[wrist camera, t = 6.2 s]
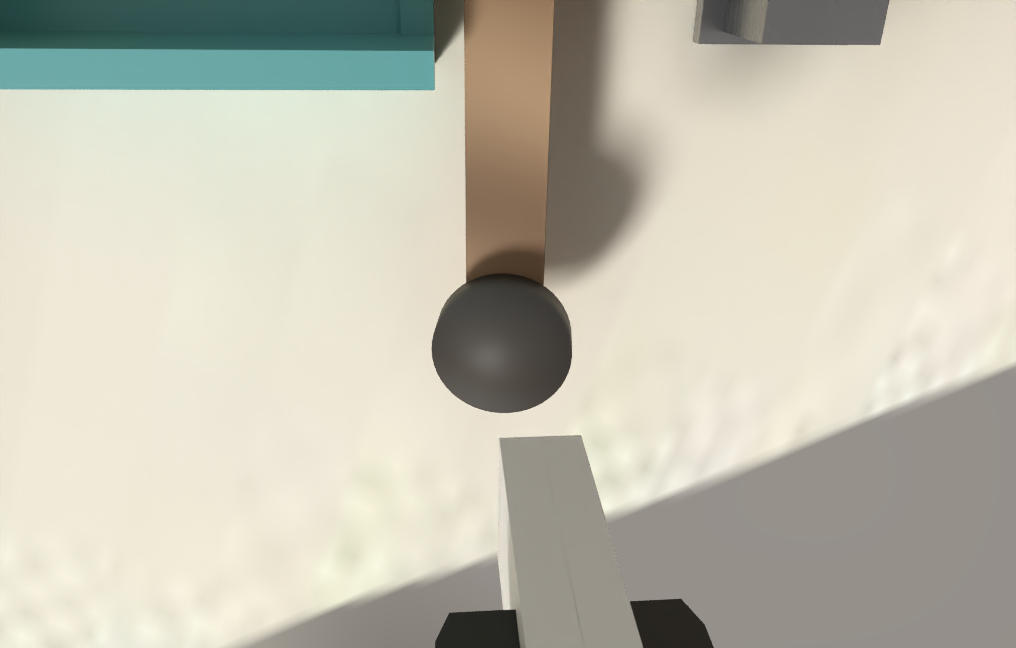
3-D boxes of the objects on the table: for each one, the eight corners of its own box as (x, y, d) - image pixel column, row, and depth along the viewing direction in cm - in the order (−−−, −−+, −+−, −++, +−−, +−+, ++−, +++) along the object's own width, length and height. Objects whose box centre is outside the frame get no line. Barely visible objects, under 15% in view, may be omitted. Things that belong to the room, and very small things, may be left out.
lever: (432, -360, 16) (401, -435, 13) (1279, -361, 16) (1468, -441, 12) (447, 358, 24) (429, 424, 20) (1023, 382, 23) (1099, 455, 20)
